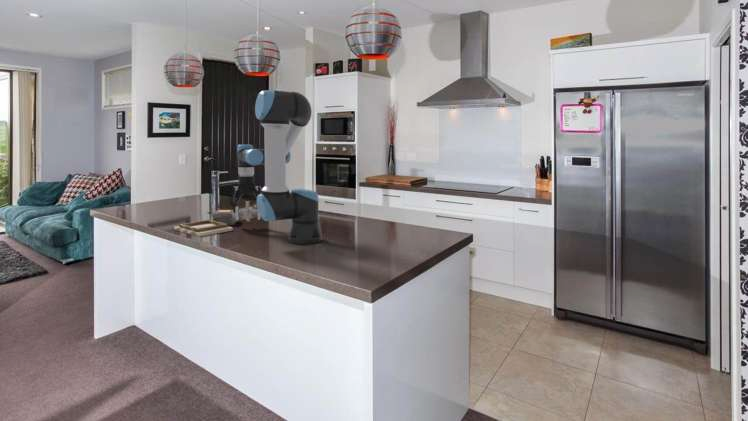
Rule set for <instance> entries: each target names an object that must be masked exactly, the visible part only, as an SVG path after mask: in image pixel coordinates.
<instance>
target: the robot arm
mask: <svg viewBox="0 0 748 421" xmlns="http://www.w3.org/2000/svg"><path fill="white" fill-rule="evenodd" d="M254 112H255V117H256V119H257V120H260V121H259V122H260V123H259V124H260V125H261V126H262V128H264V132H263V134H264V136H263V138H264V140H263V141H264V148H254V145H252V144H238V145H237V151H236V153H237V169H238V170H237V171H238V186H236V185H234V186H232V192H231V197H230V199H229V204H228V205H229V206H230V207H232V208H233V209H232V210H233V212H234V213H236V220H238V221H239V213H238V209H239V206H238V204H239V202H240V200H241V198H242V197H243V196H244V195H251V197H252V198H253V200H254V201H255V203H256V208H257V209H256V210H258V213H257V221H259V220H261V219H262V220H263V221H265V222H275V221H284V220H285V221H286V220H291V221H292V222H291V227H290V230H289V233H288V242H289V243H291V244H297V245H312V244H311V243H313V244H317V243H316V242H318V243H321V242H322V241H323V234H322V233H323V232H322V230H321V228H320V225H319V194H318V192H317V191H315V190H310V189H303V188H292V189H291V190H290V187H289V188H288V187H287V183H286V182H287V181H286V180H287V178H286V177H287V176H286V174H287V173H286V169H287V166H286V164H289V163H290V161H291V152H290V151H291V149H292V147H293V145H294V143H295V142H296V140H297V139H298V137H299V135H300V133H301V131H302V130H303V128H305V127H306V126H307V125H308V124H309V123H310V121H311V118H312V115H313V114H312V113H313V112H312V106H311V103H310V101H309V100H308V98H307V97H306V96H304V95H303V94H302V93H300V92H296V91H282V90H275V89H274V90H273V89H271V90H270V89H269V90H268V89H266V90H261V91H260V92H259V93H258V94H257V97H256V100H255V105H254ZM258 165H262V166H263V165H264V186H263V187H262V186H261V185H259V186H258V185H256V184H255V176H254V175H255V166H258ZM238 190H239V191H240V192H239V194H238V196H237V197H236V193H237V191H238ZM255 190H256V191H257V194H258V195H256V192H255ZM235 198H236V200H235ZM321 240H322V241H321ZM320 241H321V242H320Z"/></svg>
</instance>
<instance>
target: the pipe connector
mask: <svg viewBox="0 0 748 421" xmlns="http://www.w3.org/2000/svg"><path fill="white" fill-rule="evenodd" d="M238 214H243V215H245V216H246V217H245V218H246V222H251V215H250V214H258V210H257V209H254V208H252V207H250V201H249V200H248V201H247V200H245V209H239V208H238Z"/></svg>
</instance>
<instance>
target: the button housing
mask: <svg viewBox="0 0 748 421" xmlns="http://www.w3.org/2000/svg"><path fill="white" fill-rule="evenodd" d="M220 210H221V209H217V210H215V211H214V212H213V213H212V221H217V222H221V223H225V224H227V226H234V225H235V224H237V223H238V221H239V219H238V220H236V213H234V212H233V209H231V210H232V212H230V213H217V212H218V211H220Z"/></svg>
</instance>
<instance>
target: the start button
mask: <svg viewBox="0 0 748 421" xmlns="http://www.w3.org/2000/svg"><path fill="white" fill-rule="evenodd" d="M219 210H220V211H218V212H217V213H230V212H232V210H233V209H219Z"/></svg>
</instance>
